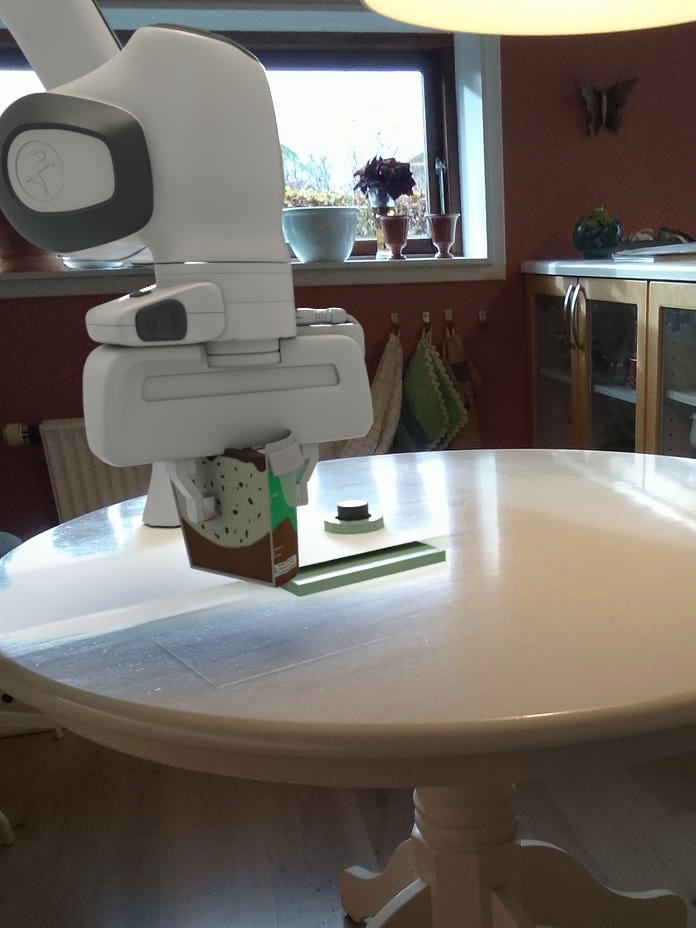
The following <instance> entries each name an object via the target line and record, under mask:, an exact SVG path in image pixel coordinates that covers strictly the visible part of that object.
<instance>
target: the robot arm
mask: <svg viewBox="0 0 696 928" xmlns="http://www.w3.org/2000/svg"><path fill="white" fill-rule="evenodd" d="M0 21H1V22H2V23H3V24H4V26H5V27H6V28H7V30H8V31H9V33H10V34H11V36H12V37H13V39H14V40H15V42H16V44H17V45H18V47H19V48H20V50H21V52H22V54H23V55H24V57H25V58H26V60H27V62H28V63H29V65H30V66H31V68H32V70H33V72H34V73H35V75H36V77H37V78H38V80H39V81H40V83H41V84H42V86H43V88H44V89H45V91H43V92H34V93H29V94H26V95H23V96H21V97H19V98H18V99H16V100H14V101H13V102H11V103H10V104H9V105H8V106H7V107H6V108H5V109H4V111H3V112H2V114H0V209H1V211H2V213H3V215H4V217H5V218H6V219H7V221H8V222H9V224H10V225H11V226H12V227H13V228H14V230H15V231H16V232H17V233H18V234H19V235H20V236H21V237H22V238H24V239H25V240H26V241H27V242H29V243H30V244H32V245H33V246H35V247H37V248H39V249H42V250H44V251H47V252H50V253H54V254H56V255H58V256H63V257H66V258H71V259H79V260H91V261H92V260H93V261H98V262H104V263H125V264H126V263H127V264H131V265H135V266H138V267H144V268H148V269H152V270H154V275H155V281H156V282H155V283H154V285H151V286H149V287H146V288H143V289H140V290H137V291H134V292H131V293H129V294H127V295H125V296H122V297H118V298H116V299H113V300H110V301H108V302H105V303H102V304H99V305H96V306H94V307H92V308H90V309H89V310H88V311H87V312H86V314H85V326H86V330H87V334H88V336H89V338H90V339H91V340H93V342H96V343H100V344H101V345H99V346H98V347H96V348H94V349H93V350H92V351H91V352H90V353H89V355H88V356H87V358H86V360H85V363H84V366H83V373H82V405H83V417H84V427H85V428H84V429H85V434H86V440H87V445H88V448H89V450H90V452H91V453H92V454H93V455H94V456H95V457H97V459H98V460H100V461H102V462H103V463H105V464H107V465H110V466H112V467H116V468H124V467H132V466H141V465H149V464H153V463H157V462H164V463H165V470H166V473H167V475H168V476H169V477H170V479H171V480H172V481H173V482H174V484H175V485H176V486H177V488H178V489H179V490H180V491H181V493H182V494H183V495H184V496H185V498H186V506H187V514H188V517H189V519H190V521H192V522H194V523H203V522H207V521H212V520H216V519H217V512H216V511H215V509H214V508H215V506H216V502H215V496H213V495H209V494H208V493H205V492H204V493H201V492H200V491H199V490H198V488H197V487H196V485H195V484H194V483H193V481H192V480H191V478H190V477H189V476H188V474H190V475H192V474H196V463H195V458H198V457H206V456H214V455H222V454H223V453H224V449H227V448H248V447H258V446H264V445H266V444H270V443H274V442H277V441H280V440H283V439H285V438H287V437H289V433H288V430H289V429H290V430H291V431H292V433H293V438H295V439H296V440H297V441H298V444H299V447H300V450H301V453H302V456H303V459H304V463H303V465H302V466H300V467H299V468H297V469H295V476H296V501H297V508H298V507H304V506H308V504H309V488H308V483H309V482H310V480H311V478H312V475H313V474H314V471H315V468H316V467H317V464H318V462H319V460H320V449H319V448H320V447H319V443H326V442H334V441H342V440H343V441H344V440H351V439H358V438H359V439H360V438H364V437H366V436H367V435H368V433H369V432H370V430H371V428H372V426H373V424H374V409H373V399H372V394H371V387H370V380H369V376H368V371H367V365H366V362H365V356H366V346H365V345H366V344H365V333H364V329H363V327H362V325H361V324H360V323H359V321H358V320H357V319H356V318H355V317H354V316H352V315H351V314H348V313H347V312H346V310H345V309H343V308H338V307H330V308H326V309H313V308H296V303H295V294H294V293H295V291H294V282H293V281H294V279H293V267H292V258H291V253H290V249H289V247H288V245H287V241H286V239H285V235H284V229H283V210H284V204H285V199H286V180H285V169H284V160H283V158H284V157H283V152H282V151H283V150H282V143H281V135H280V128H279V127H280V126H279V120H278V115H277V108H276V105H275V99H274V95H273V90H272V87H271V81H270V79H269V76H268V74H267V71H266V69H265V66H264V65H263V64H262V63H261V61H260V60H259V59H258V58H257V57H256V56H255V55H254V54H253V53H252V52H251V51H249V50H248V49H247V48H246V47H244V46H242V45H241V44H239V43H238V42H237V41H234V40H233V39H231V38H229V37H228V36H225V35H223V34H218V33H215V32H212V31H210V30H208V29H203V28H199V27H195V26H190V25H187V24H179V23H171V22H157V23H153V24H148V25H143V26H141V27H139V28H138V29H136V30H135V31H134V33H133V34H132V35H131V37H130V38H129V39H128V41H127V43H126V44H125V46H124V47H123V44H122V43H121V41H120V39H119V38H118V36H117V34H116V32H115V31H114V29H113V28H112V25H111V24H110V22H109V20H108V18H107V17H106V15H105V13H104V11H103V10H102V8H101V7H100V4H99V2H98V1H97V0H0ZM347 321H348V322H350V323H346V322H347Z"/></svg>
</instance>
